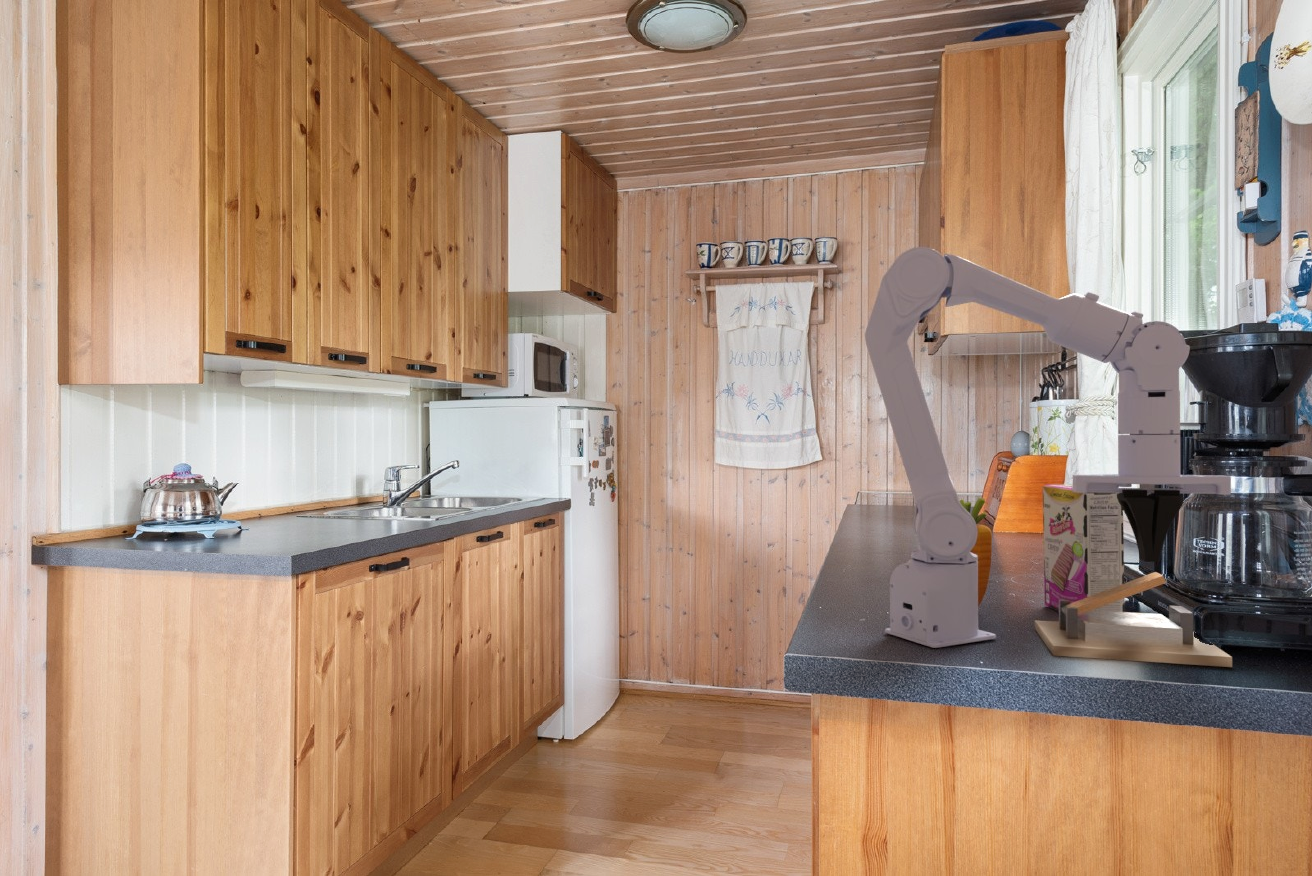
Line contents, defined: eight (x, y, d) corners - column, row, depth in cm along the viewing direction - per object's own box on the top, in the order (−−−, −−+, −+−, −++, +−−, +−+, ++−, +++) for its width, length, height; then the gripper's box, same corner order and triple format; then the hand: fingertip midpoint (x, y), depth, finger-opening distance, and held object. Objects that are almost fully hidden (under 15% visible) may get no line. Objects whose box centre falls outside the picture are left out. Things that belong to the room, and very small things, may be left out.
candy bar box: (1041, 606, 107) (1040, 484, 107) (1078, 606, 107) (1077, 484, 107) (1085, 626, 96) (1084, 490, 96) (1127, 625, 96) (1126, 489, 96)
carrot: (947, 607, 107) (946, 495, 107) (985, 607, 107) (984, 495, 106) (960, 615, 102) (960, 498, 102) (1000, 615, 102) (999, 498, 102)
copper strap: (1068, 619, 87) (1064, 611, 87) (1063, 614, 89) (1059, 607, 89) (1166, 583, 84) (1162, 575, 84) (1159, 578, 86) (1155, 571, 87)
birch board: (1053, 655, 83) (1053, 645, 83) (1034, 628, 94) (1034, 620, 94) (1232, 667, 78) (1232, 657, 78) (1189, 637, 90) (1189, 628, 90)
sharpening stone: (1069, 641, 85) (1069, 610, 85) (1057, 626, 92) (1056, 597, 92) (1199, 649, 81) (1199, 616, 81) (1176, 632, 88) (1176, 603, 88)
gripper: (1212, 434, 87) (1213, 557, 87) (1066, 435, 92) (1067, 552, 92) (1238, 434, 81) (1239, 567, 81) (1080, 435, 85) (1081, 562, 85)
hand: (1149, 560), depth 86 cm, fingers closed
